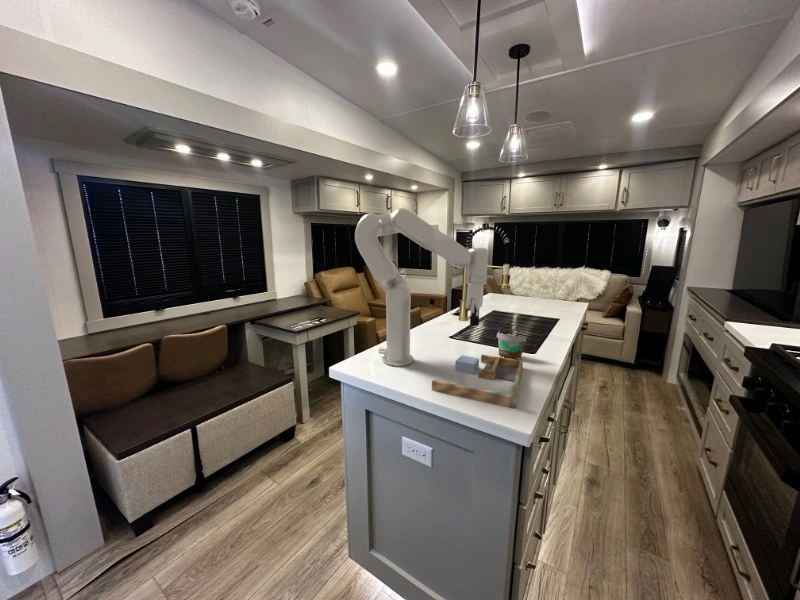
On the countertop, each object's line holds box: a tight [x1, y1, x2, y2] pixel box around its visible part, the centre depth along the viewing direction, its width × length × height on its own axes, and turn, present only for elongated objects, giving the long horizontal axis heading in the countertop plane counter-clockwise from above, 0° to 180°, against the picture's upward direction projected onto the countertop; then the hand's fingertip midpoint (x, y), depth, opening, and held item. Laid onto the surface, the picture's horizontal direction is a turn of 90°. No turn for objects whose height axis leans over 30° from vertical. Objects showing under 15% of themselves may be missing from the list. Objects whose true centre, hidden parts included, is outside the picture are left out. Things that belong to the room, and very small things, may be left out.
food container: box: [496, 330, 527, 360], centre depth 129 cm, size 12×6×10 cm, turn 47°
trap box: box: [431, 354, 524, 409], centre depth 109 cm, size 26×33×6 cm
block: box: [455, 354, 480, 375], centre depth 117 cm, size 7×7×4 cm
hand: (474, 325), depth 123 cm, fingers closed
